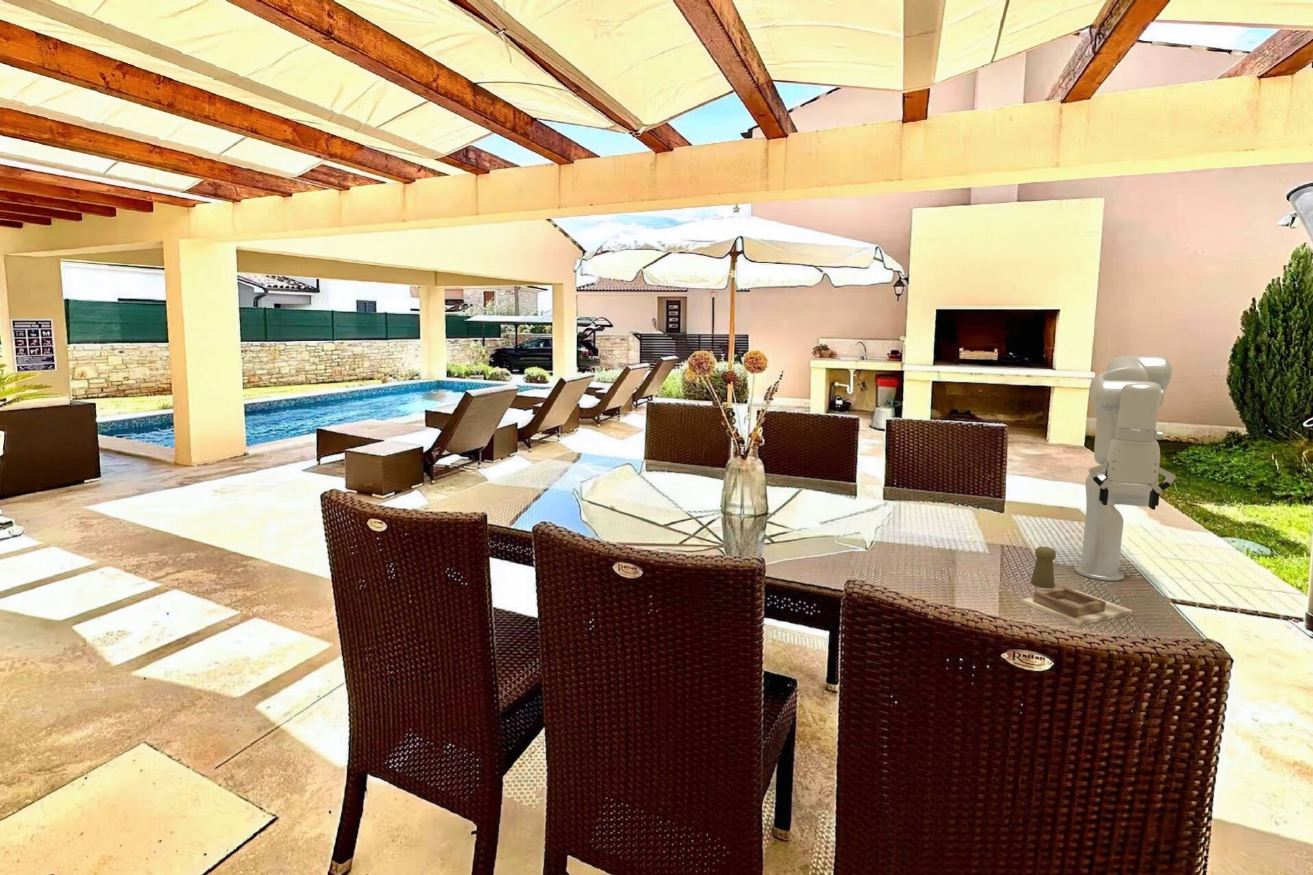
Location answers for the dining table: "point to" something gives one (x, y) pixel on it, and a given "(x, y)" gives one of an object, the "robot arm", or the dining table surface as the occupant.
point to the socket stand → (1075, 606)
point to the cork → (1044, 568)
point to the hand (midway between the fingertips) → (1127, 506)
